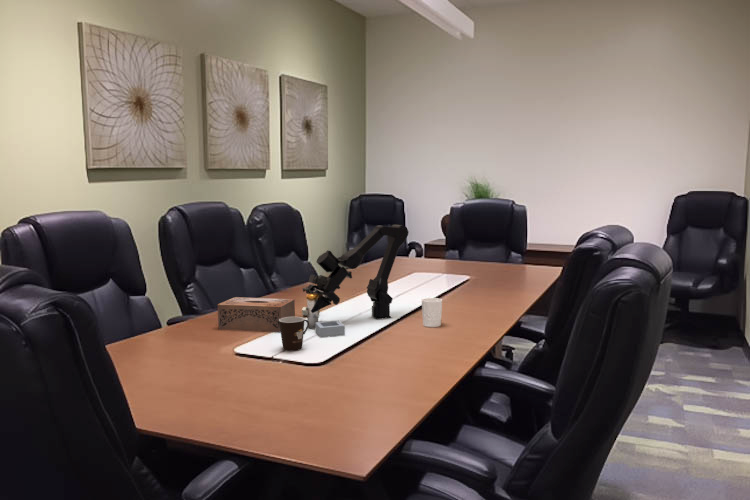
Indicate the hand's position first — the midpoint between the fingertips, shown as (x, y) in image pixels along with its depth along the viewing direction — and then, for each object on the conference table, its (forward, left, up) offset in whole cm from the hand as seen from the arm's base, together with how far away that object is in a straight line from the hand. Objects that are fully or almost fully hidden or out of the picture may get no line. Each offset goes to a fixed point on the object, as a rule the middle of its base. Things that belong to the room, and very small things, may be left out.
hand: (309, 311), depth 231 cm
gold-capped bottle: (-1, 0, -7) cm, 7 cm away
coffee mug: (+10, +26, -7) cm, 28 cm away
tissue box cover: (+19, -10, -7) cm, 22 cm away
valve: (-4, -19, -7) cm, 21 cm away
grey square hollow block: (-5, +11, -7) cm, 14 cm away
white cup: (-45, +13, -7) cm, 48 cm away
